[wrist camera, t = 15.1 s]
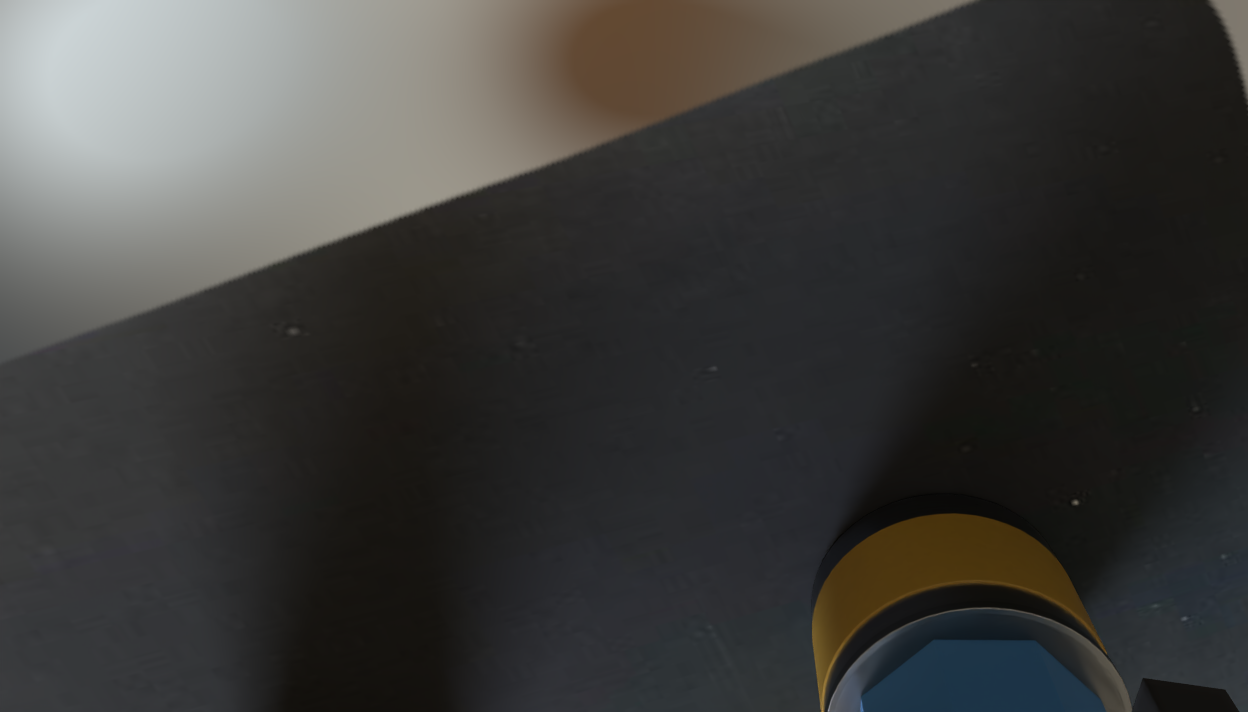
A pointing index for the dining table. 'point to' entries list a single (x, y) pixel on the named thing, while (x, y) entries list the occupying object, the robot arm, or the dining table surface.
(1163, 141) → the dining table surface
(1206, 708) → the robot arm
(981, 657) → the water bottle
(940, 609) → the tin
